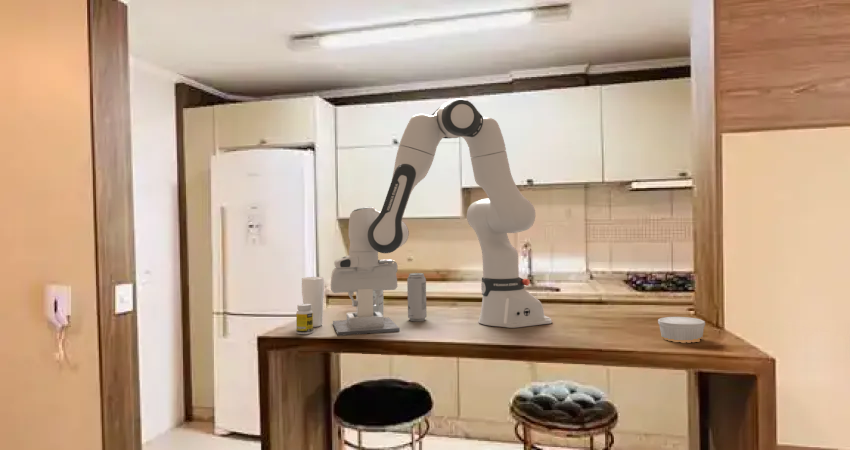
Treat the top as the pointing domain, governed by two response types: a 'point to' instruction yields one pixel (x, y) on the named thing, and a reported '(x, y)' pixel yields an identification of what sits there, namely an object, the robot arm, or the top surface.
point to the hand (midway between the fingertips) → (364, 305)
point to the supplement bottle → (304, 319)
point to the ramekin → (681, 328)
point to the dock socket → (365, 324)
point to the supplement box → (378, 302)
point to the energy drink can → (416, 297)
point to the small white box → (364, 302)
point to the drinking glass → (314, 297)
